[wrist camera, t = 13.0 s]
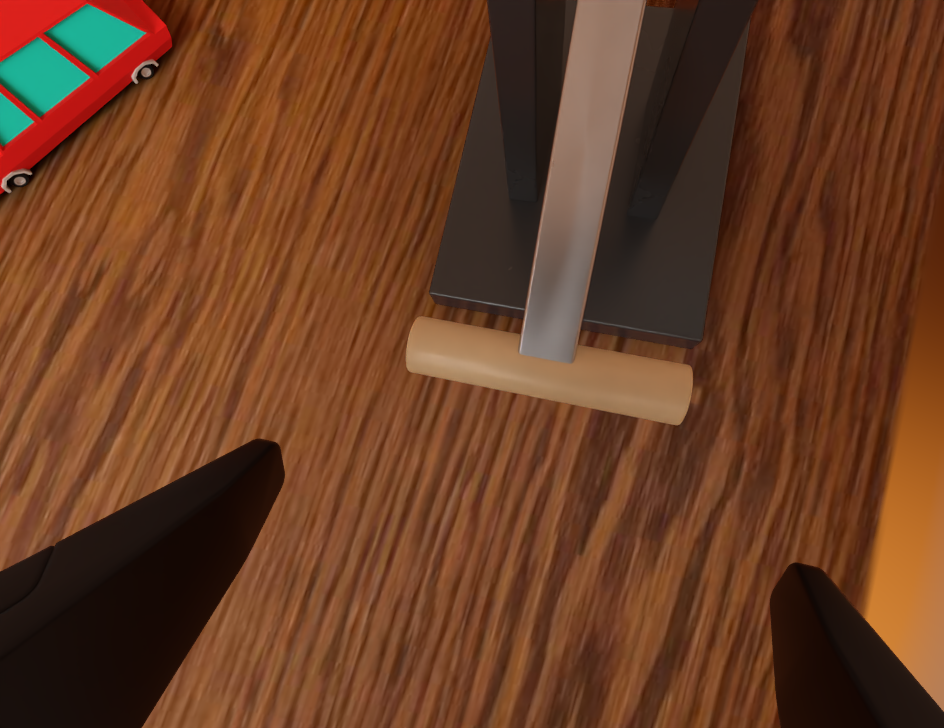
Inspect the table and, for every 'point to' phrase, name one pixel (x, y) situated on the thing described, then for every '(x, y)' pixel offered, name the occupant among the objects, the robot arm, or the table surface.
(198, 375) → the table surface
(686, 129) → the bracket
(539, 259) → the lever
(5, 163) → the toy car
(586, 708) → the table surface
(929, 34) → the table surface
